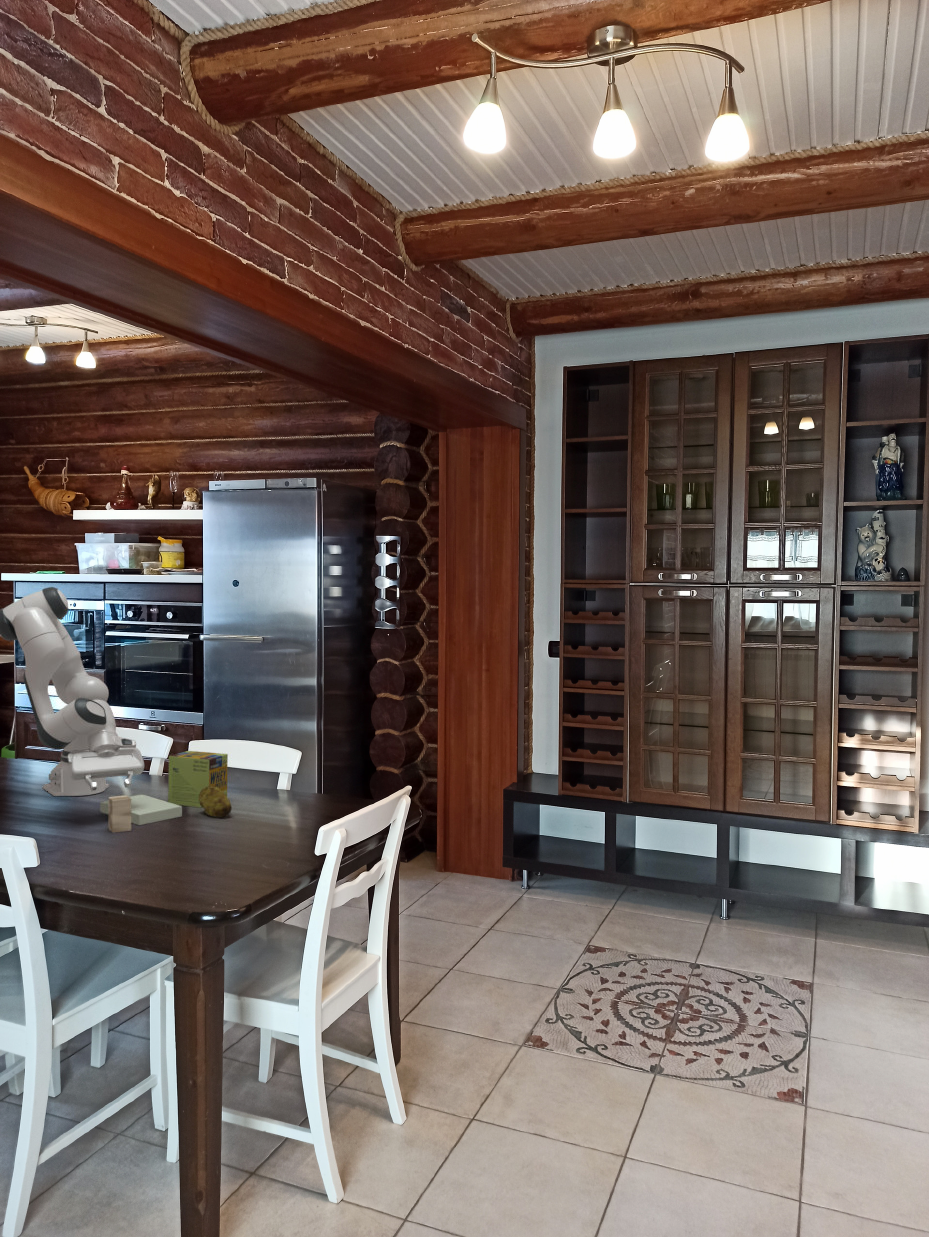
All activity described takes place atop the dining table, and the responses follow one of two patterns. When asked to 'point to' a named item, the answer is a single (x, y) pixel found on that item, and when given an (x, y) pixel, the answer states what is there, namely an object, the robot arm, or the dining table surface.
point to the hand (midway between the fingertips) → (111, 787)
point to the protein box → (195, 776)
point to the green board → (148, 809)
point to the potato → (214, 802)
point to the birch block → (119, 813)
